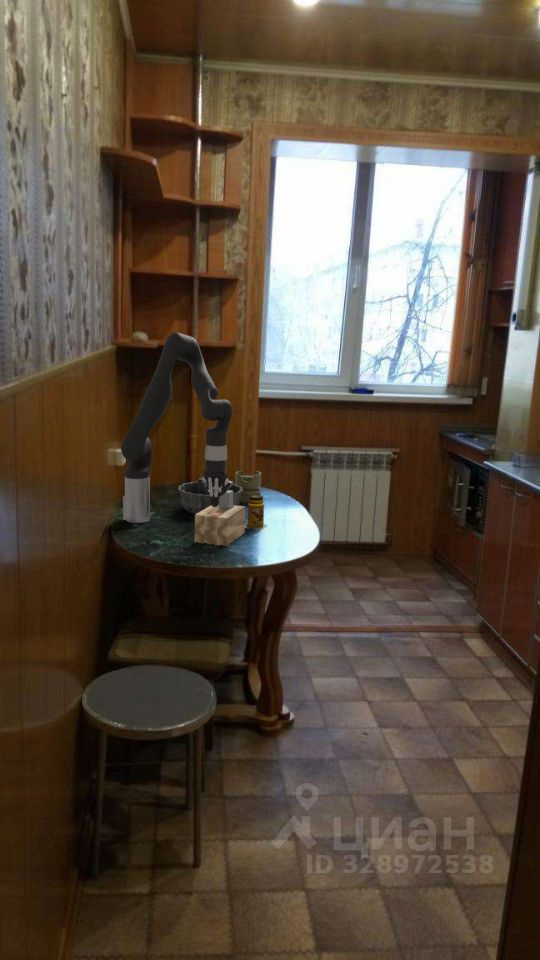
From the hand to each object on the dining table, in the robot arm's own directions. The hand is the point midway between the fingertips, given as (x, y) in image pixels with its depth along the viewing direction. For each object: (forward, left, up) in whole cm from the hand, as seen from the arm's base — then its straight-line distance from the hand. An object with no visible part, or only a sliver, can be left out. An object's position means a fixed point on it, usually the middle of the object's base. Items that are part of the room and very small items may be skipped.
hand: (214, 506), depth 247 cm
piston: (-11, +65, -13) cm, 67 cm away
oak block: (0, +5, -13) cm, 14 cm away
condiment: (+6, +24, -13) cm, 28 cm away
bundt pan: (-18, +39, -13) cm, 45 cm away
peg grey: (0, +10, -5) cm, 11 cm away
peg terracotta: (0, 0, -11) cm, 11 cm away
